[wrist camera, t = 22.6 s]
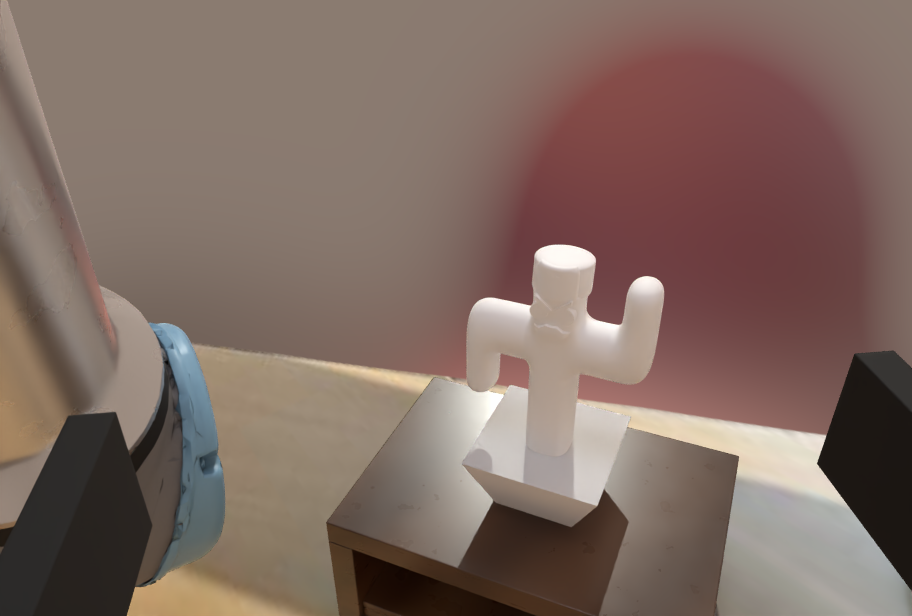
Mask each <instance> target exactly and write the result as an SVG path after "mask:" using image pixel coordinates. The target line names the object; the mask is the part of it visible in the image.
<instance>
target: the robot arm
mask: <svg viewBox="0 0 912 616" xmlns="http://www.w3.org/2000/svg"><path fill="white" fill-rule="evenodd" d="M217 453H218V437H217V429H216V424H215V419H214V414H213V410H212V406H211V402H210V397H209V393H208V390H207V386H206V383H205V379H204V376H203V373H202V370H201V367H200V364H199V361H198V359H197V356H196V353H195V351H194V349H193V347H192V344H191V342H190V340H189V339H188V337H187V335H186V334H185V333H184V332H183V331H182V330H181V329H180V328H178V327H177V326H174V325H171V324H167V323H161V324H154V323H149V322H147V321H146V319H145V318H144V317H143V315H142V314H141V313H140V311H138V310H137V309H136V308H135V307H134V306H133V305H132V304H131V303H129V302H128V301H127V300H126V299H124V298H122V297H121V296H119V295H117V294H116V293H114V292H112V291H110V290H108V289H106V288H104V287H102V286H99V284H98V281H97V278H96V275H95V272H94V269H93V266H92V263H91V259H90V256H89V253H88V250H87V247H86V244H85V241H84V238H83V235H82V232H81V228H80V225H79V223H78V219H77V216H76V213H75V210H74V207H73V204H72V201H71V197H70V194H69V191H68V188H67V185H66V182H65V179H64V176H63V173H62V170H61V167H60V163H59V160H58V157H57V154H56V151H55V148H54V145H53V142H52V139H51V135H50V132H49V129H48V126H47V123H46V120H45V117H44V114H43V111H42V108H41V104H40V101H39V98H38V95H37V92H36V89H35V86H34V83H33V80H32V77H31V73H30V70H29V67H28V64H27V61H26V58H25V55H24V52H23V49H22V46H21V42H20V40H19V36H18V33H17V30H16V27H15V24H14V21H13V18H12V15H11V12H10V9H9V5H8V2H7V0H0V616H127V612H128V609H129V606H130V602H131V599H132V595H133V592H134V588H135V587H144V586H147V585H151V584H153V583H156V581H157V580H160V579H161V578H162V577H163V576H165V575H166V573H168V572H170V571H173V570H175V569H177V568H180V567H182V566H184V565H187V564H189V563H192V562H194V561H196V560H198V559H200V558H202V557H203V556H205V555H206V554H207V553H208V552H210V551H211V549H212V548H213V547H214V546H215V544H216V543H217V541H218V539H219V537H220V535H221V532H222V528H223V524H224V518H225V487H224V477H223V469H222V465H221V462H220V459H219V457H218V455H217ZM817 464H818V466H819V467H820V468H821V470H822V471H823V472H824V474H825V475H826V476H827V478H828V479H829V480H830V482H831V483H832V485H833V486H834V487H835V489H836V490H837V491H838V493H839V494H840V495H841V497H842V498H843V499H844V501H845V502H846V503H847V505H848V506H849V507H850V509H851V510H852V511H853V513H854V514H855V515H856V517H857V518H858V519H859V521H860V522H861V524H862V525H863V526H864V528H865V529H866V530H867V532H868V533H869V534H870V536H871V537H872V538H873V540H874V541H875V542H876V544H877V545H878V546H879V548H880V549H881V550H882V552H883V553H884V554H885V556H886V557H887V559H888V560H889V561H890V563H891V564H892V565H893V567H894V568H895V569H896V571H897V572H898V573H899V575H900V576H901V577H902V579H903V580H904V581H905V583H906V584H907V585H908V587H909V588H910V589H911V591H912V368H911V367H910V366H909V365H908V364H907V363H906V362H905V361H904V360H903V359H902V358H901V357H900V356H899V355H897V353H895V352H894V351H882V352H870V353H857V354H854V357H853V360H852V363H851V366H850V368H849V371H848V374H847V377H846V380H845V384H844V386H843V389H842V392H841V395H840V398H839V401H838V404H837V407H836V410H835V412H834V415H833V418H832V422H831V424H830V427H829V430H828V433H827V436H826V439H825V442H824V445H823V448H822V451H821V454H820V456H819V459H818V462H817Z"/></svg>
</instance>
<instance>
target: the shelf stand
mask: <svg viewBox="0 0 912 616" xmlns="http://www.w3.org/2000/svg"><path fill="white" fill-rule="evenodd" d="M503 396H504V395H502V394H498V393H494V392H490V391H485V392H476V391H473V390H472V389H471V388H470V387H469V386H467V385H463V384H459V383H456V382H452V381H448V380H444V379H440V378H436V377H434V378H433V379H432V380H431V382H430V383H429V384H428V386H427V387H426V389H425V390H424V391H423V393H422V394H421V395H420V397H419V398H418V399H417V401H416V402H415V403H414V405H413V406H412V407H411V409H410V410H409V411H408V413H407V414H406V416H405V417H404V418H403V420H402V421H401V422H400V424H399V425H398V426H397V428H396V429H395V430H394V432H393V433H392V434H391V436H390V437H389V438H388V440H387V441H386V442H385V444H384V445H383V447H382V448H381V449H380V451H379V452H378V453H377V455H376V456H375V457H374V459H373V460H372V461H371V463H370V464H369V465H368V467H367V468H366V469H365V471H364V472H363V474H362V475H361V476H360V478H359V479H358V480H357V482H356V483H355V484H354V486H353V487H352V488H351V490H350V491H349V492H348V494H347V495H346V496H345V498H344V499H343V501H342V502H341V503H340V505H339V506H338V507H337V509H336V510H335V511H334V513H333V514H332V515H331V517H330V518H329V519H328V521H327V522H326V524H327V531H328V538H329V546H330V553H331V560H332V567H333V573H334V580H335V587H336V594H337V601H338V608H339V615H340V616H714V614H715V608H716V601H717V595H718V588H719V582H720V576H721V569H722V563H723V557H724V550H725V544H726V537H727V531H728V525H729V518H730V512H731V505H732V499H733V493H734V486H735V480H736V474H737V467H738V461H739V456H736V455H732V454H729V453H725V452H721V451H717V450H713V449H709V448H706V447H702V446H698V445H694V444H690V443H686V442H682V441H679V440H675V439H671V438H667V437H663V436H659V435H656V434H652V433H648V432H644V431H640V430H636V429H632V428H629V427H627V429H626V431H625V434H624V437H623V439H622V442H621V445H620V447H619V450H618V453H617V455H616V458H615V461H614V463H613V466H612V469H611V471H610V474H609V477H608V479H607V482H606V485H605V487H604V490H603V492H602V495H601V498H600V500H599V503H598V506H597V507H596V508H594V509H593V510H592V511H591V512H590V513H588V514H587V515H586V516H585V517H583V518H582V519H581V520H580V521H579V522H577V523H576V524H575V525H574V526H572V527H569V526H566V525H563V524H560V523H557V522H554V521H551V520H548V519H545V518H542V517H538V516H535V515H532V514H529V513H526V512H523V511H520V510H517V509H514V508H511V507H508V506H505V505H501V504H498V503H496V502H495V501H494V500H493V499H492V498H491V497H490V495H489V494H488V493H487V492H486V491H485V490H484V489H483V488H482V486H481V485H480V484H479V483H478V482H477V481H476V480H475V479H474V477H473V476H472V475H471V474H470V473H469V472H468V471H467V470H466V469H465V467H464V466H463V465H462V462H463V460H464V459H465V457H466V456H467V454H468V452H469V451H470V449H471V447H472V446H473V444H474V443H475V441H476V439H477V438H478V436H479V434H480V433H481V431H482V430H483V428H484V426H485V425H486V423H487V421H488V420H489V418H490V417H491V415H492V413H493V412H494V410H495V409H496V407H497V405H498V404H499V402H500V400H501V399H502V397H503Z"/></svg>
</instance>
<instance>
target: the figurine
mask: <svg viewBox="0 0 912 616" xmlns="http://www.w3.org/2000/svg"><path fill="white" fill-rule="evenodd" d="M595 264H596V260H595V257H594V256H593V255H592V254H591V253H590V252H588V251H586V250H584V249H582V248H579V247H575V246H569V245H550V246H546V247H543V248H541V249H539V250H538V251H537V252H536V253H535V258H534V268H533V279H532V286H533V291H534V300H533V301H534V302H533V304H532V305H531V306H529V305H524V304H519V303H515V302H511V301H506V300H502V299H497V298H484V299H482V300H480V301H478V302H477V303H476V304H475V305H474V306H473V308H472V310H471V313H470V315H469V320H468V326H467V383H468V385H469V387H470V388H471V389H472V390H473V391H476V392H485V391H487V390H489V389H491V388H492V387H493V386H494V385H495V383H496V381H497V379H498V376H499V370H500V354H505V355H509V356H513V357H517V358H521V359H525V360H526V361H527V363H528V365H529V367H530V371H529V389H524V388H521V387H516V386H513V385H510V386H509V387H508V389H507V391H506V392H505V394H504V396H503V397H502V399H501V400H500V402H499V404H498V405H497V407H496V409H495V410H494V412H493V413H492V415H491V417H490V418H489V420H488V421H487V423H486V425H485V426H484V428H483V430H482V431H481V433H480V434H479V436H478V438H477V439H476V441H475V443H474V444H473V446H472V447H471V449H470V451H469V452H468V454H467V456H466V457H465V459H464V460H463V462H462V465H463V466H464V467H465V469H466V470H467V471H468V472H469V473H470V474H471V475H472V476H473V477H474V479H475V480H476V481H477V482H478V483H479V484H480V485H481V486H482V488H483V489H484V490H485V491H486V492H487V493H488V494H489V495H490V497H491V498H492V499H493V500H494V501H495V502H496V503H498V504H501V505H505V506H508V507H511V508H514V509H517V510H520V511H523V512H526V513H529V514H532V515H535V516H538V517H542V518H545V519H548V520H551V521H554V522H557V523H560V524H563V525H566V526H569V527H572V526H574V525H575V524H576V523H577V522H579V521H580V520H581V519H582V518H583V517H585V516H586V515H587V514H588V513H590V512H591V511H592V510H593V509H594V508H596V507H597V506H598V503H599V500H600V498H601V495H602V492H603V490H604V487H605V485H606V482H607V479H608V477H609V474H610V471H611V469H612V466H613V463H614V461H615V458H616V455H617V453H618V450H619V447H620V445H621V442H622V439H623V437H624V434H625V431H626V429H627V426H628V423H629V421H630V418H631V416H627V415H623V414H619V413H615V412H612V411H608V410H604V409H600V408H596V407H593V406H589V405H585V404H581V403H577V394H578V385H579V375H580V374H584V375H589V376H594V377H597V378H602V379H606V380H609V381H613V382H617V383H622V384H636V383H638V382H640V381H642V380H643V379H644V378H645V377H646V375H647V374H648V372H649V370H650V368H651V365H652V361H653V357H654V354H655V349H656V344H657V338H658V332H659V326H660V319H661V314H662V307H663V301H664V289H663V286H662V284H661V282H660V281H659V280H657V279H656V278H653V277H648V276H646V277H641V278H638V279H637V280H635V281H634V282H633V283H632V285H631V286H630V288H629V291H628V294H627V299H626V305H625V312H624V318H623V322H622V324H621V325H614V324H610V323H605V322H601V321H597V320H595V319H593V318H591V317H590V316H589V315H588V313H587V310H586V306H587V297H588V295H589V294H590V293H591V291H592V286H593V278H594V270H595Z"/></svg>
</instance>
